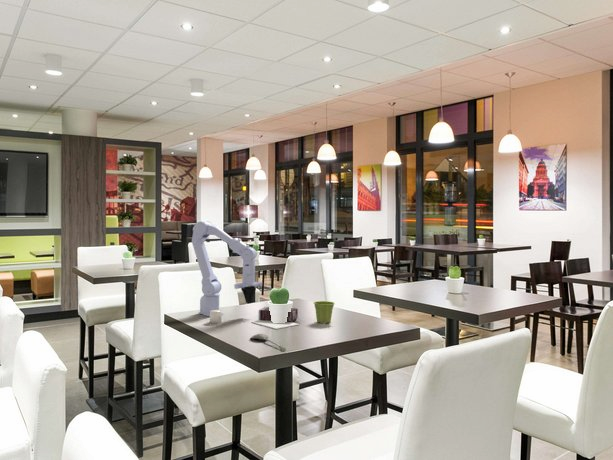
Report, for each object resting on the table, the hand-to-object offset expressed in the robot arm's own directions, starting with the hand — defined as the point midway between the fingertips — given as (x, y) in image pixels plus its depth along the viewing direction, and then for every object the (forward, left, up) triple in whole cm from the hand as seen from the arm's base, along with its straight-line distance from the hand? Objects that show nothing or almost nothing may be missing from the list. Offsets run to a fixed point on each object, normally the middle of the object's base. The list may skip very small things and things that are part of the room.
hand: (248, 302), depth 227 cm
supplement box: (+9, +1, -4) cm, 9 cm away
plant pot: (+31, +19, -7) cm, 37 cm away
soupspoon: (+45, -24, -7) cm, 51 cm away
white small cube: (+1, -18, -6) cm, 20 cm away
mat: (+20, 0, -6) cm, 21 cm away
